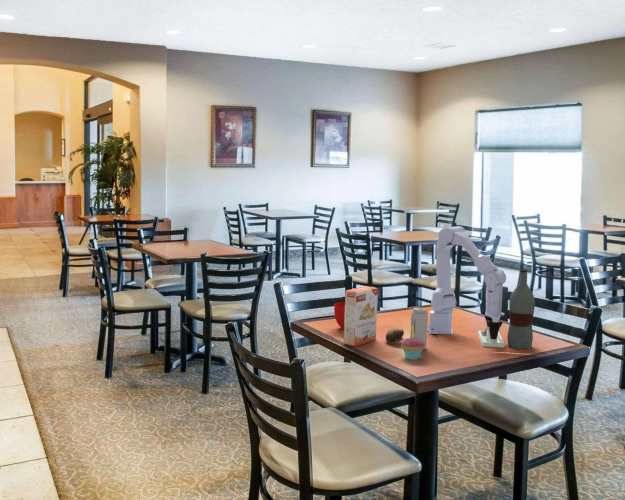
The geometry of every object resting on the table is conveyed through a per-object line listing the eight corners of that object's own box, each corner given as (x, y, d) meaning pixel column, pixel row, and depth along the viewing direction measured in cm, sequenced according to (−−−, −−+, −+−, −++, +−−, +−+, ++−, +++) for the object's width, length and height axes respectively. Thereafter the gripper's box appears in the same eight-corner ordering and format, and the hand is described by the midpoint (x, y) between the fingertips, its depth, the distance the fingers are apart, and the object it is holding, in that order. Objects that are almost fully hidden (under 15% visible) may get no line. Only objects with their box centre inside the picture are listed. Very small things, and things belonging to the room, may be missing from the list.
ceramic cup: (378, 328, 273) (378, 304, 271) (347, 334, 262) (347, 309, 261) (357, 322, 283) (358, 299, 282) (327, 327, 273) (327, 304, 271)
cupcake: (398, 354, 234) (399, 321, 233) (421, 354, 235) (422, 321, 234) (403, 361, 226) (404, 327, 224) (427, 361, 227) (428, 327, 225)
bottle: (537, 348, 245) (542, 270, 241) (521, 352, 240) (525, 271, 236) (517, 343, 252) (522, 266, 249) (501, 346, 248) (505, 268, 244)
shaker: (486, 344, 248) (487, 328, 247) (485, 341, 252) (486, 326, 251) (497, 344, 247) (498, 329, 246) (496, 342, 251) (497, 326, 250)
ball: (484, 338, 257) (485, 328, 256) (483, 335, 261) (484, 325, 260) (495, 338, 256) (495, 328, 256) (493, 336, 260) (494, 326, 259)
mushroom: (410, 333, 252) (401, 321, 250) (406, 345, 245) (397, 333, 244) (393, 340, 256) (384, 328, 255) (389, 352, 250) (380, 340, 248)
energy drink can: (407, 346, 245) (408, 307, 243) (420, 345, 247) (422, 306, 245) (415, 351, 239) (417, 311, 237) (429, 349, 241) (431, 310, 240)
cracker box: (355, 347, 243) (357, 292, 240) (342, 344, 247) (344, 290, 244) (377, 340, 254) (378, 287, 251) (364, 337, 257) (366, 285, 255)
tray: (482, 347, 245) (482, 342, 245) (478, 335, 262) (478, 330, 262) (504, 349, 244) (504, 343, 243) (498, 337, 261) (498, 331, 261)
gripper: (507, 306, 240) (505, 341, 241) (502, 298, 254) (500, 332, 256) (487, 305, 241) (486, 340, 243) (483, 297, 255) (482, 331, 257)
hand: (492, 336), depth 249 cm, fingers open, 7 cm apart
